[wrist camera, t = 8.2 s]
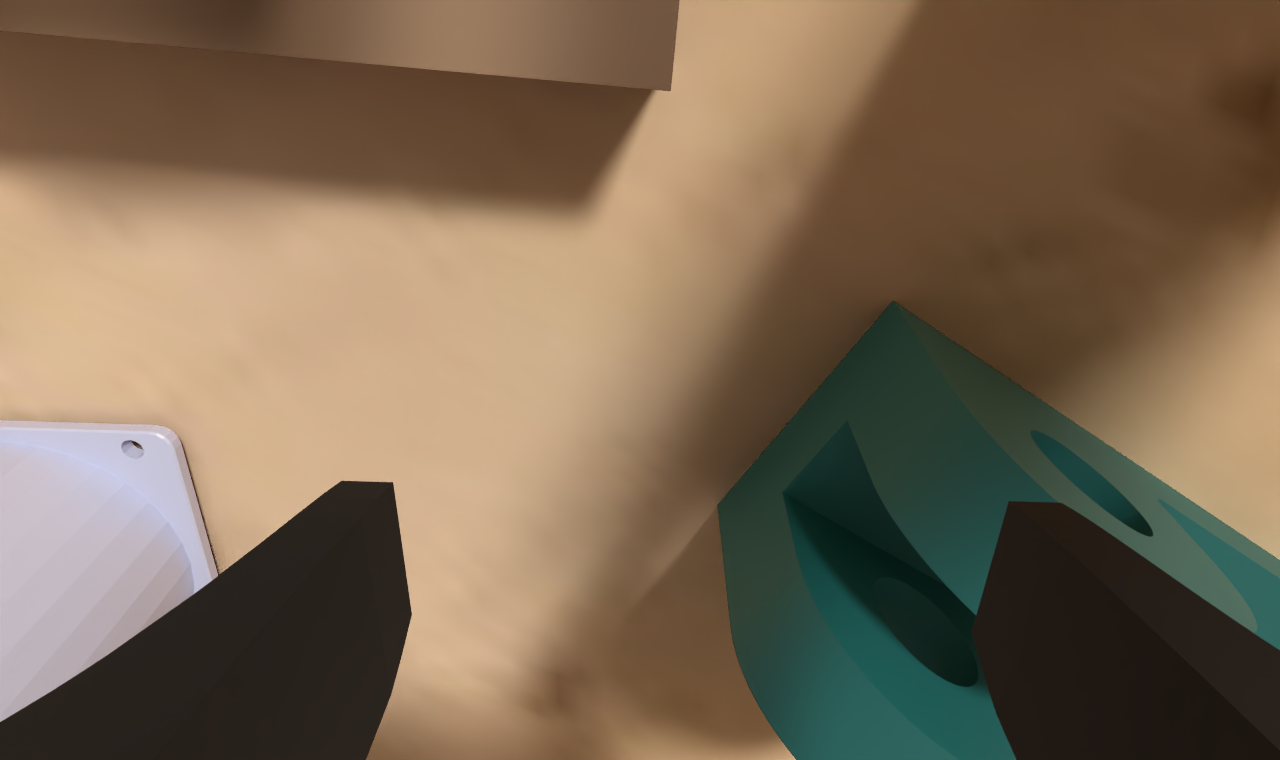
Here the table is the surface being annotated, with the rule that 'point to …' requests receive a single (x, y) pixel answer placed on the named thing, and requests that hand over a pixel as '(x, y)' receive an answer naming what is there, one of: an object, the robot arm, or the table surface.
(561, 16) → the walnut block
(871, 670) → the bracket
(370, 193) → the table surface
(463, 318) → the table surface
